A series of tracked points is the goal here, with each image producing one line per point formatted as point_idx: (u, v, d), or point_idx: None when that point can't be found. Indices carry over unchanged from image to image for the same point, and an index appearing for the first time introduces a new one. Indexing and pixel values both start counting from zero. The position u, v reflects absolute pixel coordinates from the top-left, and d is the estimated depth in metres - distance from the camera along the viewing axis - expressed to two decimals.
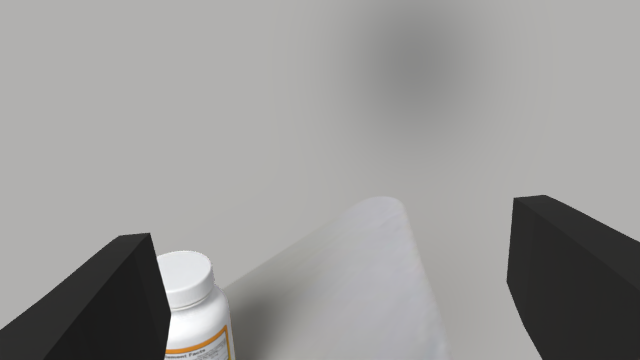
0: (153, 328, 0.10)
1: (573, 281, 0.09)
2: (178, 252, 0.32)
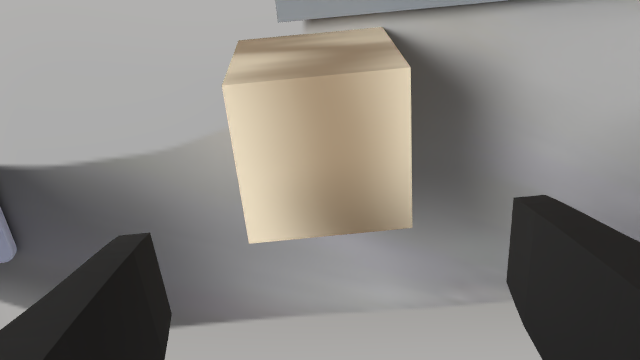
0: (153, 328, 0.10)
1: (573, 281, 0.09)
2: None
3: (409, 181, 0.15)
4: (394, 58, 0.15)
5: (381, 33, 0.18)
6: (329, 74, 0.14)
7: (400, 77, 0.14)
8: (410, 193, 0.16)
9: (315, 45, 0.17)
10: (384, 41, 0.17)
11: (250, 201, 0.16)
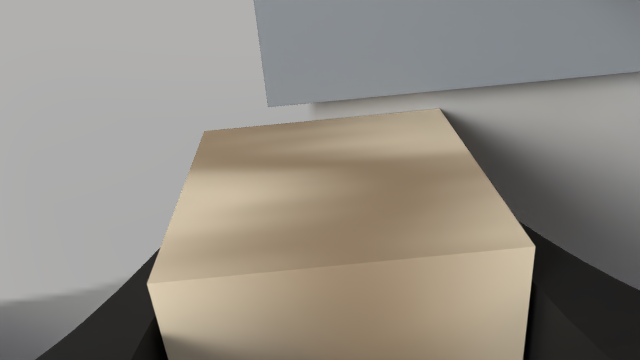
0: None
1: None
2: None
3: None
4: (490, 208, 0.08)
5: (443, 127, 0.10)
6: (367, 261, 0.07)
7: (512, 264, 0.07)
8: None
9: (332, 154, 0.10)
10: (455, 151, 0.09)
11: None
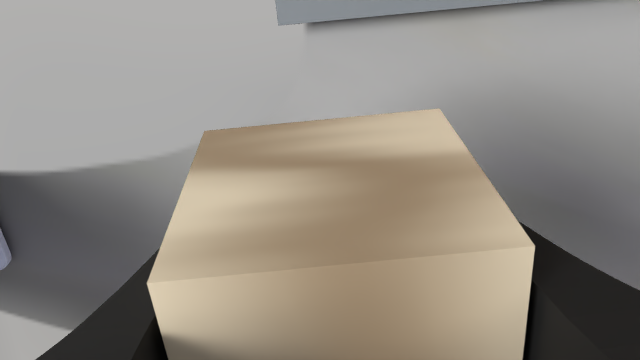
0: None
1: None
2: None
3: None
4: (489, 208, 0.08)
5: (443, 127, 0.10)
6: (368, 260, 0.07)
7: (512, 264, 0.07)
8: None
9: (332, 154, 0.10)
10: (455, 151, 0.09)
11: None
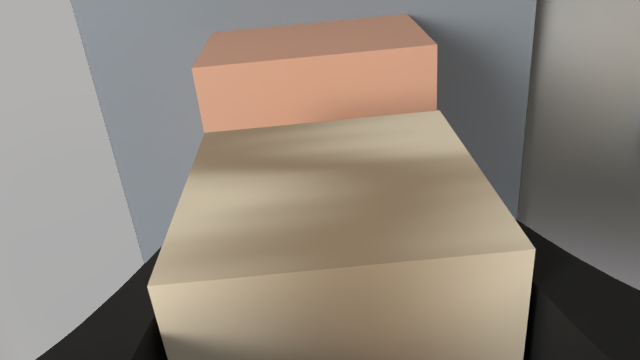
0: None
1: None
2: None
3: None
4: (490, 211, 0.08)
5: (443, 129, 0.10)
6: (368, 263, 0.07)
7: (513, 267, 0.07)
8: None
9: (332, 156, 0.10)
10: (455, 153, 0.09)
11: None
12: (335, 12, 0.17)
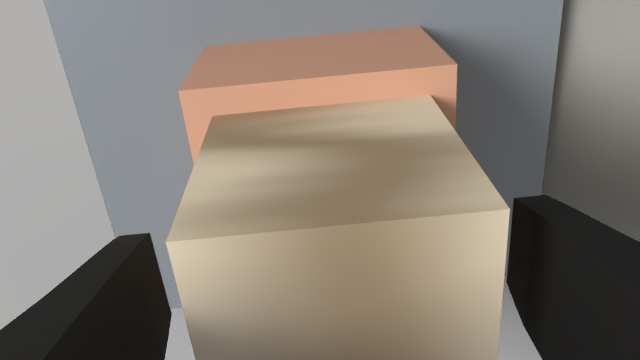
0: (153, 328, 0.10)
1: (573, 281, 0.09)
2: None
3: None
4: (471, 179, 0.09)
5: (433, 111, 0.11)
6: (361, 222, 0.08)
7: (490, 225, 0.08)
8: None
9: (331, 135, 0.11)
10: (443, 131, 0.10)
11: None
12: (340, 24, 0.15)
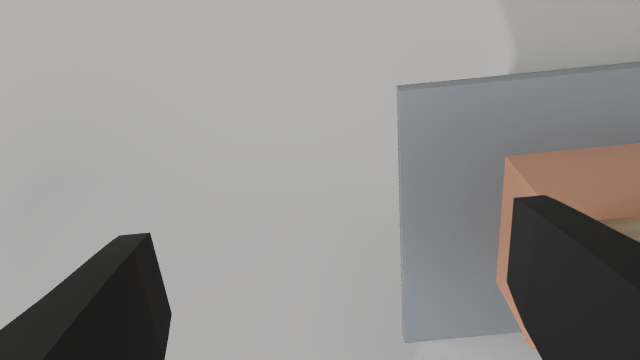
0: (153, 328, 0.10)
1: (573, 281, 0.09)
2: None
3: None
4: None
5: None
6: None
7: None
8: None
9: None
10: None
11: None
12: (605, 140, 0.21)
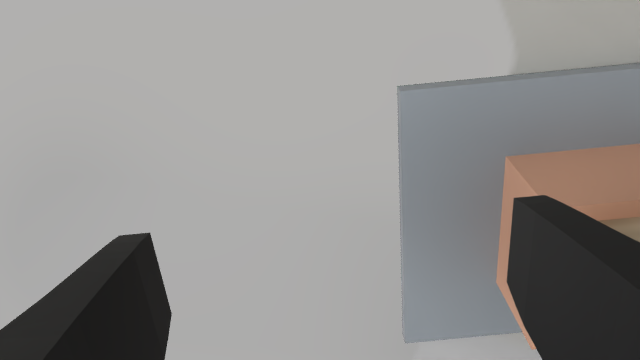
0: (153, 328, 0.10)
1: (573, 281, 0.09)
2: None
3: None
4: None
5: None
6: None
7: None
8: None
9: None
10: None
11: None
12: (605, 141, 0.21)
